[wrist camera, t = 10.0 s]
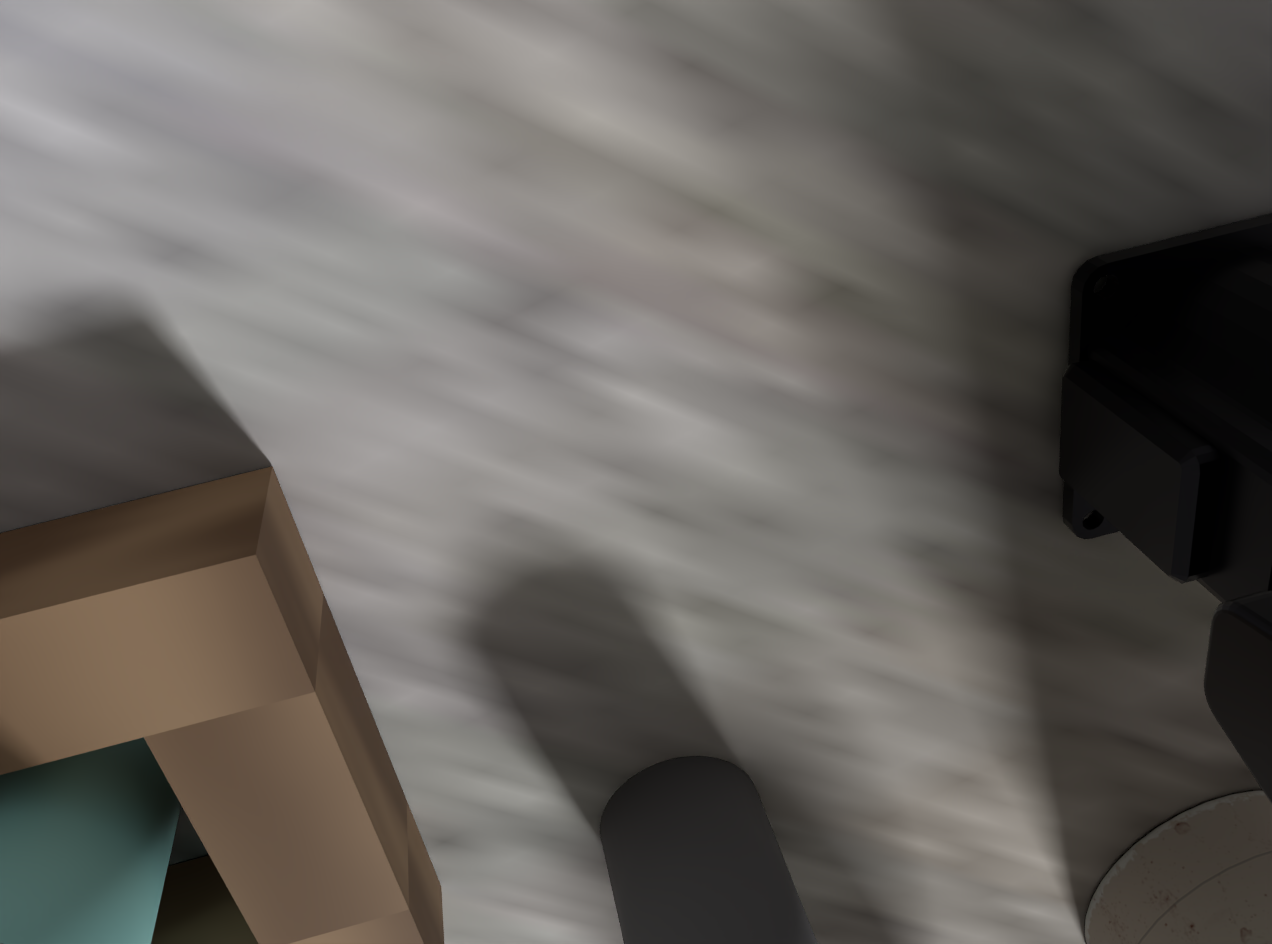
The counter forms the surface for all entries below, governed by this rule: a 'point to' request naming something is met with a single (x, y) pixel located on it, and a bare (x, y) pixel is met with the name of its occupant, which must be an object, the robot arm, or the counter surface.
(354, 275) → the counter surface
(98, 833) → the peg
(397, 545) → the counter surface
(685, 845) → the black dowel
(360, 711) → the socket block
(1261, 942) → the thermos bottle
